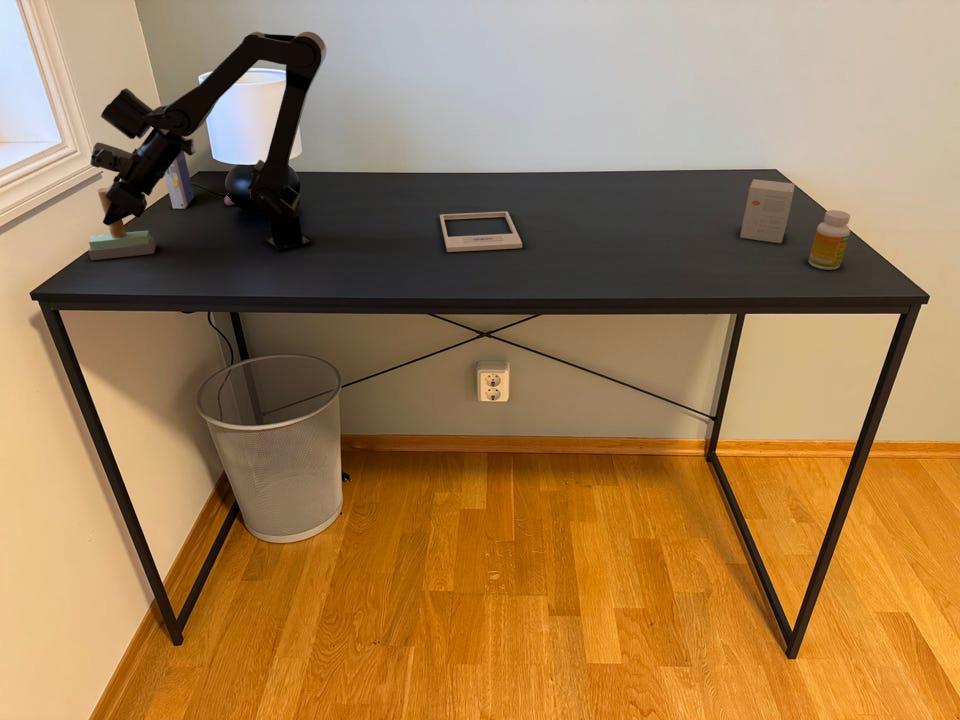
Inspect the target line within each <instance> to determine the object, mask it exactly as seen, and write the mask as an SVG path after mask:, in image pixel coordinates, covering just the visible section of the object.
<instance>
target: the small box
mask: <svg viewBox="0 0 960 720" xmlns="http://www.w3.org/2000/svg"><path fill="white" fill-rule="evenodd" d="M795 186H796V184H795V183H791V182H782V181H772V180H763V179H755V178H753V179H752V181H751V183H750V186H749V189H748V194H747V198H746V199H747V200H746V205H745V210H744V213H743V220H742V225H741V229H740V235H739V238H740V239H747V240H753V241H761V242H766V243H767V242H769V243H774V244H775V243H776V244H782V243H783V239H784V237H785V236H784V235H785V231H786V228H787V224H788V219H789V215H790V211H791V206H792V202H793V196H794V192H795Z"/></svg>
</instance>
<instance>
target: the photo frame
mask: <svg viewBox="0 0 960 720" xmlns="http://www.w3.org/2000/svg"><path fill="white" fill-rule="evenodd" d="M488 218H490V219H491V218H505V220H506V222H507V224H508V226H509V230H510V231H511V233H497V234H495V233H494V234H479V235H478V234H477V235H476V234H475V235H460V236H459V235H458V236H448V231H447V227H446V223H445V221H446V220H448V221H449V220H467V219H468V220H469V219H470V220H471V219H488ZM439 220H440V226H441V230H442V235H443V241H444V245H445V249H446V253H455V252H457V253H458V252H474V251H492V250H494V251H495V250H508V249H511V250H513V249H523V242H522V240H521V237H520V235H519V233H518V232H517V229H516V226H515V224H514V223H513V220H512V218H511V215H510V214H509V211H507V210H506V211H488V212H466V213H444V214H439Z"/></svg>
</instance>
